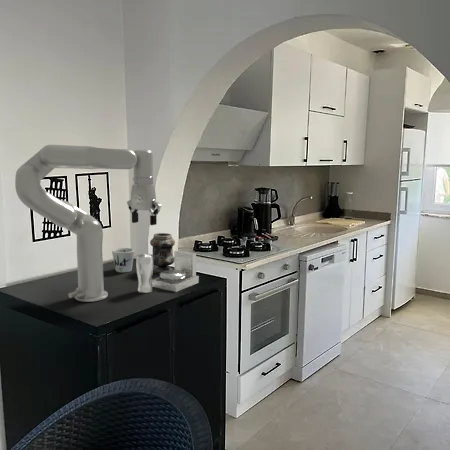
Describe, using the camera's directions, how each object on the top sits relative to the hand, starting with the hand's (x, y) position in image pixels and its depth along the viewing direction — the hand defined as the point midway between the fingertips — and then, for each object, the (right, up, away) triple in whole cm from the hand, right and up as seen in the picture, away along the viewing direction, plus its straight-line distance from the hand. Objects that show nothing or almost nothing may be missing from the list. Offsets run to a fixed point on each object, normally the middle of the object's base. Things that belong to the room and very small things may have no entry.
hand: (144, 223), depth 186 cm
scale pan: (+11, -22, +12) cm, 27 cm away
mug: (-16, -22, +38) cm, 46 cm away
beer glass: (0, -28, +5) cm, 28 cm away
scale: (+11, -26, +14) cm, 32 cm away
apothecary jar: (+3, -23, +35) cm, 42 cm away
